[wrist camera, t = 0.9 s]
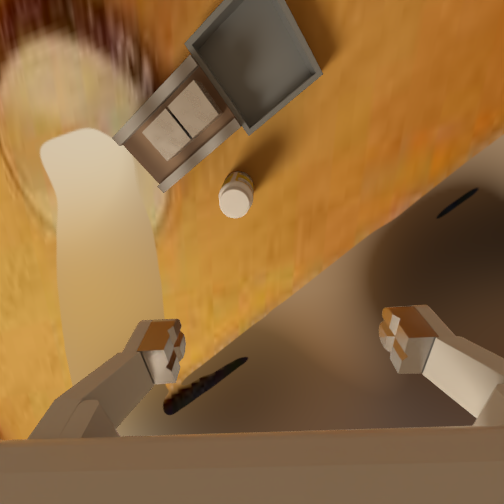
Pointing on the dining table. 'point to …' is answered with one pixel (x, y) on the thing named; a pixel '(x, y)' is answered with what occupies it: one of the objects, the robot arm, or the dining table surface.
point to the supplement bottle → (236, 194)
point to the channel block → (154, 106)
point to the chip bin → (254, 58)
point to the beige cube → (195, 108)
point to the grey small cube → (168, 135)
